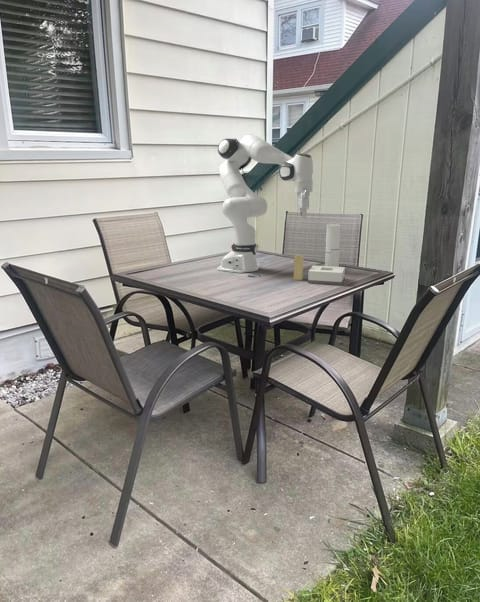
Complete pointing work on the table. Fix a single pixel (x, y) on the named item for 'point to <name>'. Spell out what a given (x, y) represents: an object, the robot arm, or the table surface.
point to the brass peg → (298, 267)
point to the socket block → (326, 275)
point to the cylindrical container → (332, 245)
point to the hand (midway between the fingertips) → (303, 216)
